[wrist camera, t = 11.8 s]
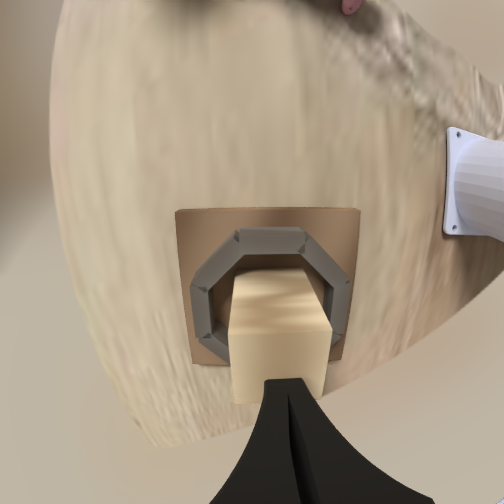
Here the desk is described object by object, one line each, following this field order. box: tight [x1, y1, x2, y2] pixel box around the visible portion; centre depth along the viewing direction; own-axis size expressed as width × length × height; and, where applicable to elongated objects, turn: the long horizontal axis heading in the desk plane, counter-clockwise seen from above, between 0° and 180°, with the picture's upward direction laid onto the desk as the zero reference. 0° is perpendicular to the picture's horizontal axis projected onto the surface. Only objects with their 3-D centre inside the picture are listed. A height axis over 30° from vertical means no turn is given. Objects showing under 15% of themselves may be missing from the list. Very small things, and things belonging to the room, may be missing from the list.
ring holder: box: [175, 207, 360, 365], centre depth 17 cm, size 11×11×3 cm
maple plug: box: [228, 267, 333, 404], centre depth 14 cm, size 4×4×7 cm
